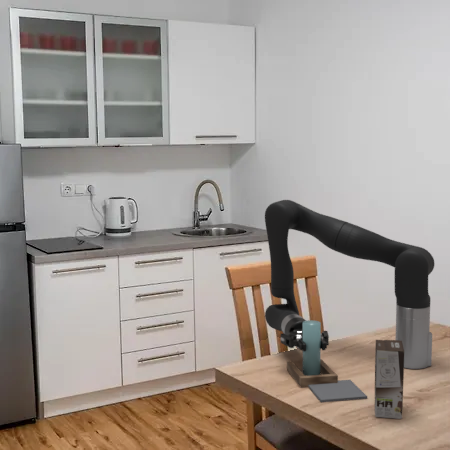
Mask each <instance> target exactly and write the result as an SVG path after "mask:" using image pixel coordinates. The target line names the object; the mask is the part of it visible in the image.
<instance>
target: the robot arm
mask: <svg viewBox="0 0 450 450" xmlns="http://www.w3.org/2000/svg"><path fill="white" fill-rule="evenodd" d="M264 222H265V229H266V235H267V241H268V242H267V243H268V250H269V257H270V258H269V259H270V288H271V289H270V293H271V295H272V297H274V298H277V299H283V300H286V303H278V304H277V303H274V304H271V305H268V307H266V309H265V312H264V317H265V321H266V324H267V325H268V326H269V327H270V328H272V330H273V329H274V330H275V331H280V332H282V333H280V344H283V345H284V346H286V347H288V348H290V349H294V347H295V348H297V349H298V350H300V351H302V353H303V352H305V351H306V343H305V342H304V341H303V322H304V321H307V320H306V318H304V317H303V316H301V315H300V310H299V308H298V305H297V301H296V296H295V291H294V290H295V289H294V288H295V287H294V285H295V284H294V282H295V281H294V277H295V276H294V266H293V262H292V259H291V256H290V252H289V246H288V245H289V244H288V240H289V239H288V237H289V230H295V231H298V232H300V233H301V232H302V233H304V234H308V235H310V236H312V237H313V238H315V239H316V240H318V241H319V242H320V243H322V244H323V245H324V246H325V247H327V248H329V249H330V250H333V251H334V252H337V253H340V254H342V255H345V256H348V257H351V258H354V259H360V260H364V261H365V260H366V261H372V262H379V263H382V264H385V265H388V266H390V267H392V268H394V296H395V300H396V306H395V311H396V312H395V314H396V315H395V338H394V340H400V341H402V343H403V347H404V351H405V352H404V369H411V370H419V369H420V370H422V369H425V368H428V367H431V366H432V357H433V353H432V351H433V332H431V331H430V328H431V327H430V324H431V323H430V322H431V296H430V295H429V275H430V274H431V273H432V272H433V271H434V269H435V259H434V256H433V254H431V253H430V252H429V251H428V250H427V249H425V248H424V247H421V246H419V245H418V246H417V245H413V244H409V243H404V242H401V241H396V240H395V239H390V238H388V237H385V236H383V235H381V234H378V233H377V232H374V231H372V230H369V229H366V228H364V227H361V226H358V225H356V224H353V223H351V222H347V221H345V220H342V219H340V218H339V219H338V218H336V217H332V216H329V215H325V214H322V213H319V212H316V211H315V210H312V209H310V208H308V207H306V206H304V205H303V204H300V203H298V202H296V201H293V200H291V199H283V200H278V201H275V202H272V203H270V204H269V205H268V206H267V207H266V209H265V212H264ZM328 332H329V331H328V330H322V331H321V350H322V351H326V349H327V347H328V346H329V344H330V342H329V338H330V336H329V333H328Z"/></svg>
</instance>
